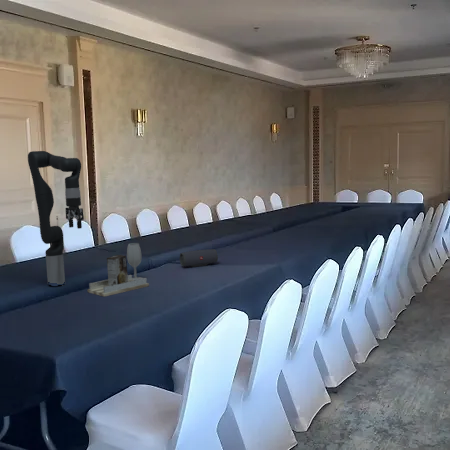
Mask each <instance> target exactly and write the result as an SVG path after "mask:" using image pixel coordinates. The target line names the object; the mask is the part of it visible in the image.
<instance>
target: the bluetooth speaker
mask: <svg viewBox="0 0 450 450" xmlns="http://www.w3.org/2000/svg"><path fill="white" fill-rule="evenodd" d="M218 260H219V257H218V252H217V249H214V248H213V249H211V248H210V249H198V250H191V251H185V252H180V254H179V263H180V266H181V267H191V268H198V267H204V266H207V265H208V264H214V263H217V262H218Z"/></svg>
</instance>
